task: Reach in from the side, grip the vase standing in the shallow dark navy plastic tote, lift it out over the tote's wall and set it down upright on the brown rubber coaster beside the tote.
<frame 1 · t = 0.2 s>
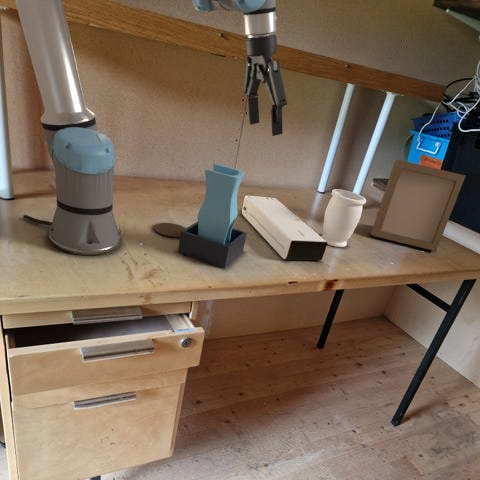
hand: (265, 128, 113), 27 cm above the table, tool tilted 20°, fingers open, 13 cm apart
coaster: (171, 230, 111), on the table
jar: (333, 242, 129), on the table
bin: (211, 252, 105), on the table
laminator: (275, 236, 124), on the table
vase: (211, 250, 105), resting in bin
photo frame: (399, 239, 146), on the table
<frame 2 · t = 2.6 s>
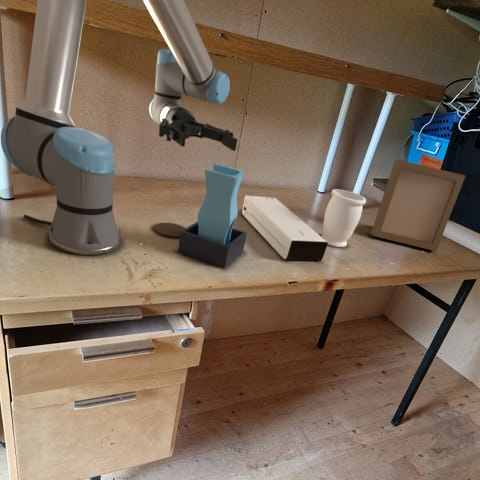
hand: (210, 142, 99), 24 cm above the table, tool horizontal, fingers open, 13 cm apart
nothing on the table moved.
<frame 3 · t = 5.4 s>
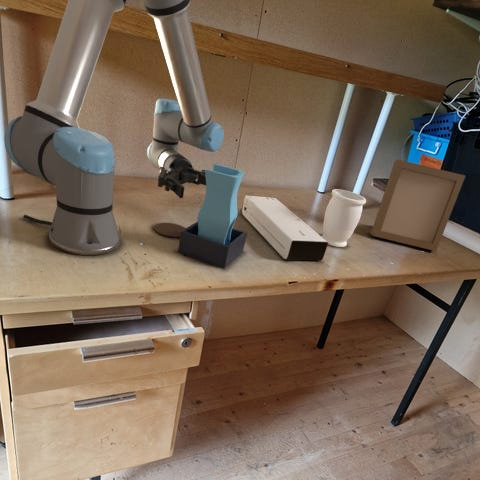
hand: (207, 193, 103), 13 cm above the table, tool horizontal, fingers open, 13 cm apart
nothing on the table moved.
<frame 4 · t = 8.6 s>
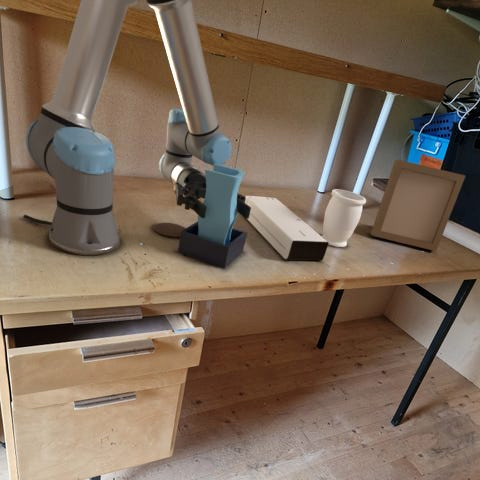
hand: (227, 212, 96), 12 cm above the table, tool horizontal, fingers closed on vase, 11 cm apart
vase: (211, 250, 105), resting in bin, touching gripper
everything else where it was.
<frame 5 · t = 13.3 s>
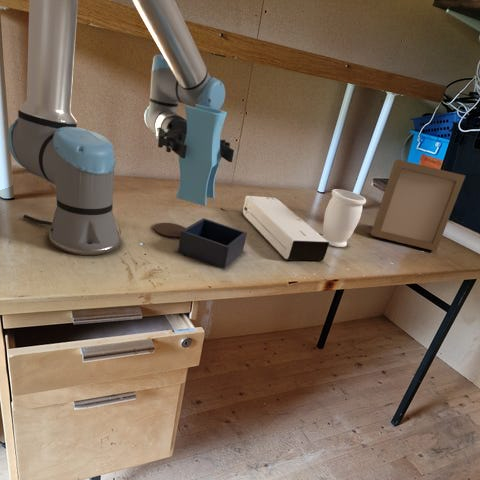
hand: (208, 154, 93), 23 cm above the table, tool horizontal, fingers closed on vase, 11 cm apart
vase: (195, 198, 102), point 11 cm above the table, touching gripper
everything else where it was.
when the fingers open (12 cm above the table, at t = 18.0 s): vase stays where it is, resting on coaster.
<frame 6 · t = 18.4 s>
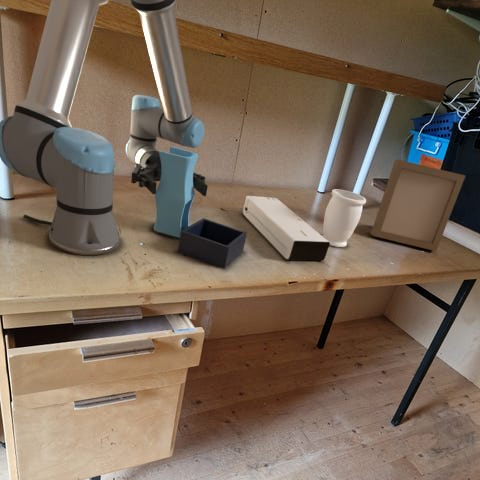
hand: (181, 189, 102), 12 cm above the table, tool horizontal, fingers open, 13 cm apart
vase: (171, 230, 111), resting on coaster
everything else where it was.
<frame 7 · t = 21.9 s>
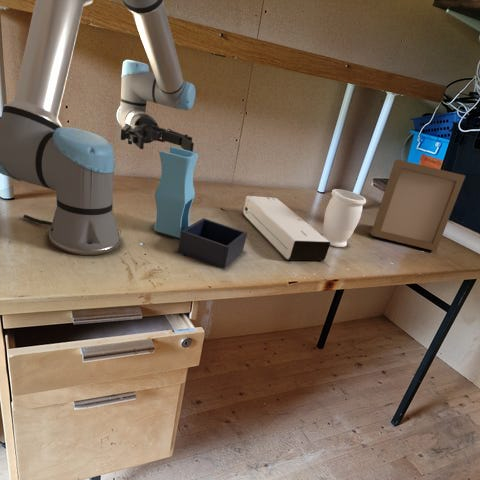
hand: (167, 146, 107), 20 cm above the table, tool horizontal, fingers open, 13 cm apart
nothing on the table moved.
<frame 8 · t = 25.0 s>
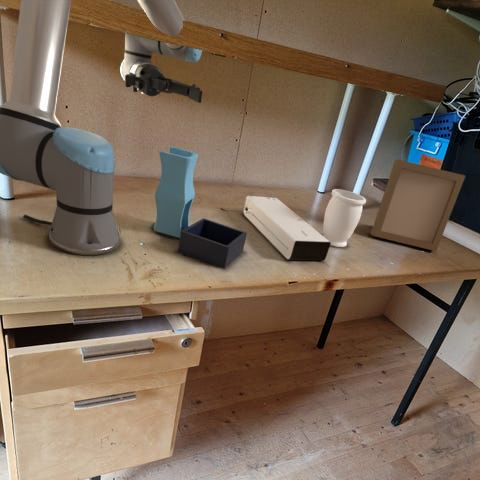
hand: (175, 92, 101), 32 cm above the table, tool horizontal, fingers open, 13 cm apart
nothing on the table moved.
at the end: vase 0.1 cm off-centre on the coaster, point 0.2 cm above the coaster's base; vase tilted 0°; vase touching coaster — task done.
